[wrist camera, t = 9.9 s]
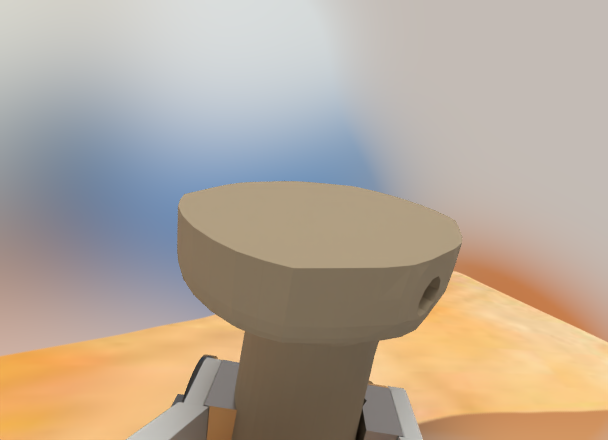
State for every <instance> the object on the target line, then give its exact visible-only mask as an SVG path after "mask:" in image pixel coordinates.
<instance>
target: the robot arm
mask: <svg viewBox="0 0 608 440" xmlns="http://www.w3.org/2000/svg"><path fill="white" fill-rule="evenodd" d="M238 369H239V363H237V362H232V361H227V360H219V359H214V358H209V357H207V358H206V359H205V360H204V362H203V364H202V366H201V368H200V370H199V372H198V374H197V376H196V378H195V380H194V382H193V384H192V386H191V388H190V390H189V392H188V395H187V397H186V399H185V401H184V403H182V402H178V403H176V404H175V405H174V406H172V407H171V408H169V409H168V410H167V411H165V412H164V413H162V414H161V415H160V416H158V417H157V418H155V419H154V420H153V421H151V422H150V423H148V424H147V425H146V426H144V427H143V428H141V429H140V430H139V431H137V432H136V433H134V434H133V435H132V436H130V437H129V438H127V439H126V440H231V438H232V434H233V429H234V423H235V418H236V412H237V409H236V404H235V386H236V380H237V374H238ZM355 440H423V438H422V435H421V433H420V430H419V427H418V424H417V421H416V418H415V415H414V413H413V410H412V407H411V404H410V401H409V398H408V396H407V393H406V391H405V390H404V389H403V388H396V387H389V386H388V387H387V386H382V385H375V384H369V383H368V385H367V390H366V394H365V399H364V403H363V407H362V412H361V416H360V421H359V425H358V429H357V434H356V439H355Z"/></svg>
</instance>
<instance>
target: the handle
mask: <svg viewBox="0 0 608 440" xmlns="http://www.w3.org/2000/svg"><path fill="white" fill-rule="evenodd" d="M177 243H178V244H177V248H178V249H177V253H178V262H179V266H180V269H181V273H182V276H183V279H184V281H185V282H186V284H187V285H188V287H189V288H190V290H191V291H192V293H193V294H194V295H195V296H196V297H197V298H198V299H199V300H200V301H201V302H202V303H203V304H204V305H205V306H206V307H207V308H208V309H209V310H211V311H212V312H213V313H215V314H216V315H218V316H219V317H221V318H222V319H224V320H226V321H227V322H229V323H230V324H232V325H233V326H235V327H237V328H239V329H242V330H244V331H245V334H244V340H243V346H242V351H241V357H240V363H239V369H238V374H237V380H236V386H235V404H236V409H237V412H236V418H235V423H234V429H233V434H232V438H231V440H355V439H356V434H357V429H358V425H359V421H360V416H361V412H362V407H363V403H364V399H365V394H366V390H367V385H368V381H369V377H370V372H371V368H372V364H373V359H374V355H375V352H376V349H377V345H378V342H379V340H386V339H391V338H397V337H401V336H403V335H405V334H408V333H410V332H412V331H414V330H416V329H417V327H418V326H419V325H420V324H421V323H422V322H423V320H424V319H425V318H426V317H427V315H428V314H429V313H430V311H431V310H432V309H433V307H434V306H435V304H436V303H437V302H438V300H439V299H440V298H441V296H442V295H443V294H444V292H445V290H446V288H447V285H448V282H449V280H450V277H451V274H452V272H453V269H454V266H455V263H456V260H457V257H458V254H459V250H460V247H461V244H462V235H461V232H460V229H459V227H458V225H457V223H456V221H455V220H453V219H451V218H450V217H448V216H446V215H444V214H441V213H439V212H437V211H435V210H432V209H430V208H427V207H424V206H422V205H419V204H416V203H413V202H410V201H407V200H404V199H401V198H398V197H394V196H391V195H387V194H383V193H380V192H376V191H371V190H367V189H363V188H358V187H353V186H344V185H334V184H324V183H311V182H296V181H290V182H289V181H278V182H246V183H236V184H229V185H223V186H219V187H214V188H209V189H205V190H201V191H197V192H192V193H188V194H184V196H183V197H182V198H181V199H180V202H179V205H178V241H177Z"/></svg>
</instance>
